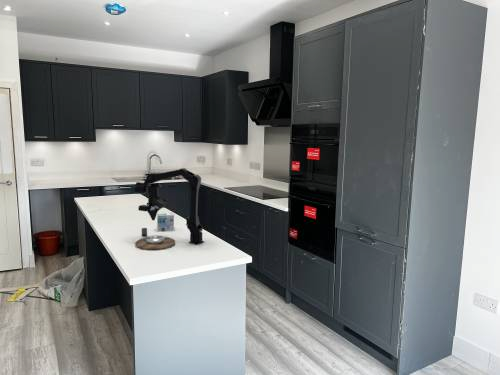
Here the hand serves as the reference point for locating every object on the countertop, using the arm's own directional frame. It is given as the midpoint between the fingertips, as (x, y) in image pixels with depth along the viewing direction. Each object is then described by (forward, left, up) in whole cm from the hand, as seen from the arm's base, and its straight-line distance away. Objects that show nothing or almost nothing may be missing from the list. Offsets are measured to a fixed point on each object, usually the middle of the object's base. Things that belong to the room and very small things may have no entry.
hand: (153, 220), depth 224 cm
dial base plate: (-7, +7, -12) cm, 15 cm away
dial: (-5, +7, -10) cm, 13 cm away
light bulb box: (+10, -21, -12) cm, 26 cm away
